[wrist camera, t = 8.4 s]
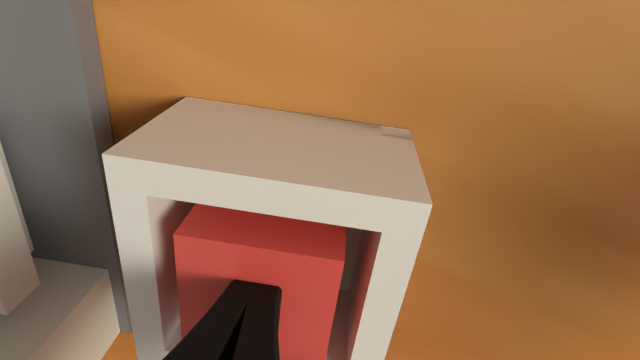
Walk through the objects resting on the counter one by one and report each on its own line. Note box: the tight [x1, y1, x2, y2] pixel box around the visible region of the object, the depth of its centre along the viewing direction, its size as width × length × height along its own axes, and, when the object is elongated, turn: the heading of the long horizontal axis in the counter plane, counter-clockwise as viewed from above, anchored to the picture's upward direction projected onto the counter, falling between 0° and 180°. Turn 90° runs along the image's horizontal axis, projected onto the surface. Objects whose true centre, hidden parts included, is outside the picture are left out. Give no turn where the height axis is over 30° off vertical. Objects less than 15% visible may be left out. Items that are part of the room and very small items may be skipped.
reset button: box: [173, 203, 347, 360], centre depth 12 cm, size 4×4×4 cm
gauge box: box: [102, 97, 433, 360], centre depth 13 cm, size 8×8×5 cm
